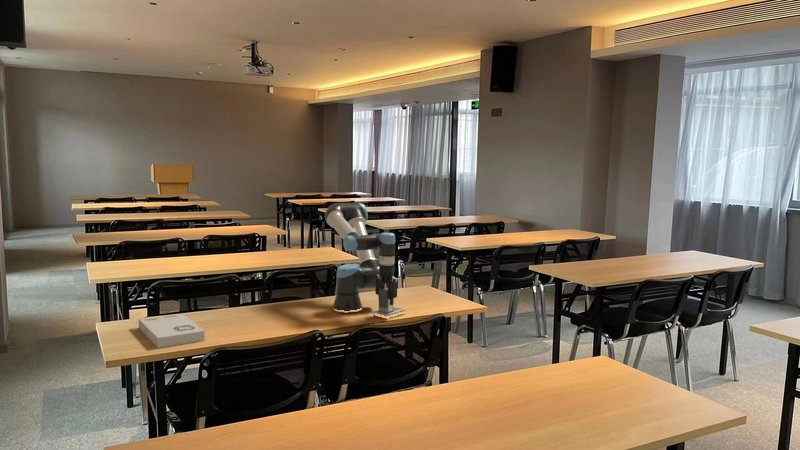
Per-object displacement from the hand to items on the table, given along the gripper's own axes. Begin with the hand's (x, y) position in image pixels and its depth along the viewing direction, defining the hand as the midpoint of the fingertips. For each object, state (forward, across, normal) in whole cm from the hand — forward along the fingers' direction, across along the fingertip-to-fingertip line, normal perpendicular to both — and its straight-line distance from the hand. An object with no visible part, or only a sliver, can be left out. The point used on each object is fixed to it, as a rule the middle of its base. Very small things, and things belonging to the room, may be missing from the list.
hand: (385, 309), depth 290 cm
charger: (+1, 0, 0) cm, 1 cm away
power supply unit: (+4, -47, -88) cm, 100 cm away
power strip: (+3, 0, +3) cm, 4 cm away
